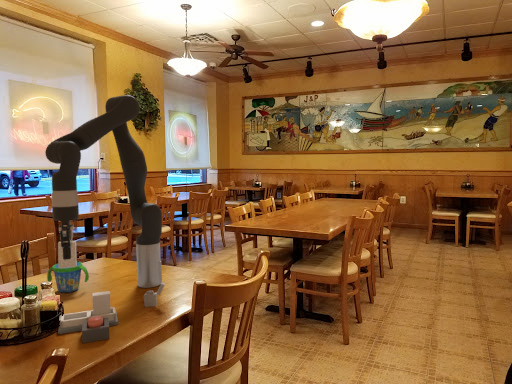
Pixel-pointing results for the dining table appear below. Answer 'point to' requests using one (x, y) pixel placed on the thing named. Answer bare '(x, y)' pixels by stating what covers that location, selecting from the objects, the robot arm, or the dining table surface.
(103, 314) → the grey slotted holder
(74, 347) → the dining table surface
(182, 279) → the dining table surface
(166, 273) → the dining table surface
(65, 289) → the snack cup
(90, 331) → the button housing
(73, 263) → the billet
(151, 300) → the lighter
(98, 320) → the button
